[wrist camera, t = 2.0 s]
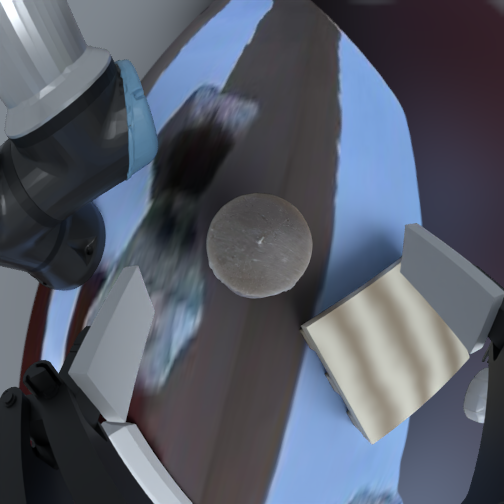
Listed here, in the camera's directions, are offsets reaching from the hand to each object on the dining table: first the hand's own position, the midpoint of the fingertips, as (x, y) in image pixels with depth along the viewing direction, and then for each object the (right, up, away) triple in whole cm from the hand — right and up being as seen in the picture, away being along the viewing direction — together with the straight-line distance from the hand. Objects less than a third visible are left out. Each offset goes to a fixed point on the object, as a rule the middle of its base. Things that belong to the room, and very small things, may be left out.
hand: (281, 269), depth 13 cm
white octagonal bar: (-17, -35, +19) cm, 43 cm away
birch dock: (+18, -13, +24) cm, 33 cm away
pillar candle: (-1, -1, +26) cm, 26 cm away
